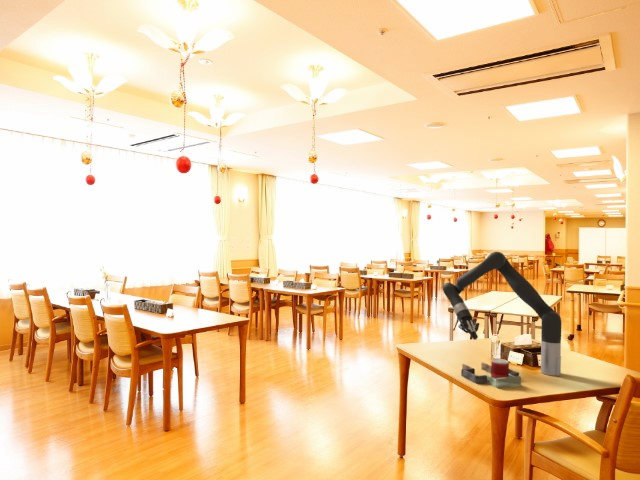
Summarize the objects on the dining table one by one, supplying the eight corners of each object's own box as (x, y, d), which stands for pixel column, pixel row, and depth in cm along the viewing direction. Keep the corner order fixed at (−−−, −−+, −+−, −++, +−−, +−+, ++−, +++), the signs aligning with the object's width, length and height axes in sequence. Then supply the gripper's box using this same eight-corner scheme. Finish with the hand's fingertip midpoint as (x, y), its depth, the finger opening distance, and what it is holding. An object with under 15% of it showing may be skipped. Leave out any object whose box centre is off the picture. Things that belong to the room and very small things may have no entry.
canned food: (510, 385, 207) (511, 363, 207) (494, 384, 208) (494, 362, 208) (505, 380, 215) (505, 358, 215) (489, 379, 215) (489, 358, 215)
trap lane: (452, 371, 228) (452, 363, 228) (492, 368, 235) (492, 359, 235) (487, 389, 201) (487, 380, 201) (530, 385, 208) (530, 375, 208)
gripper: (455, 309, 237) (468, 335, 225) (475, 308, 241) (489, 334, 229) (449, 316, 242) (462, 343, 230) (469, 315, 246) (482, 341, 234)
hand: (475, 338), depth 230 cm, fingers closed
